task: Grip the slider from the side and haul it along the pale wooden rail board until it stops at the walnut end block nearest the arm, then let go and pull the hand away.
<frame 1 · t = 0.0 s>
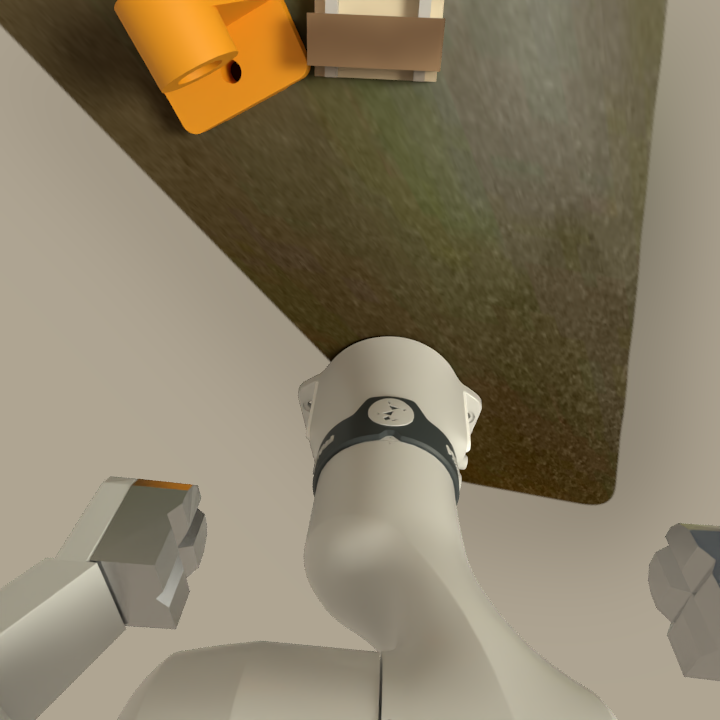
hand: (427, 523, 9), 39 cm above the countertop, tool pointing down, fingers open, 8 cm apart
bracket: (234, 56, 40), on the countertop
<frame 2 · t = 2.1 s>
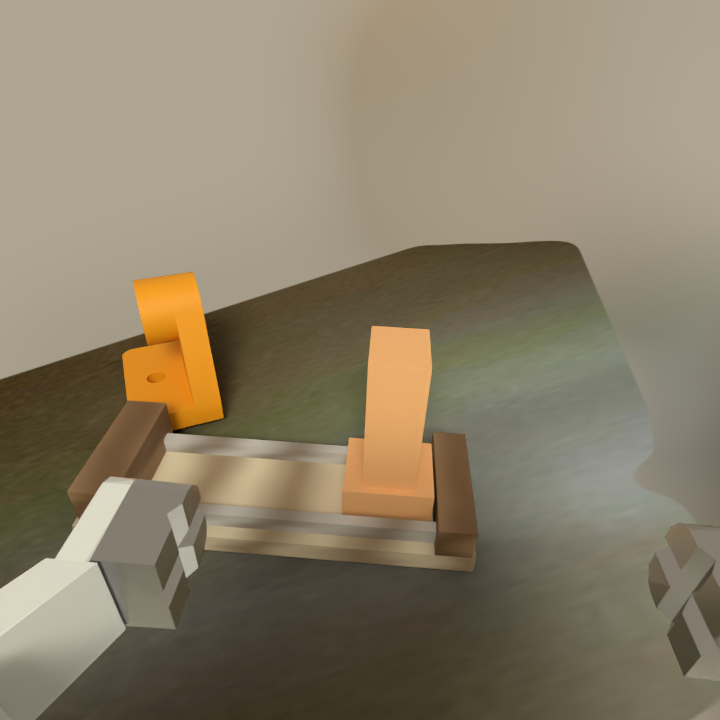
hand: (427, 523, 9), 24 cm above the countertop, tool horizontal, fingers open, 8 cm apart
bracket: (174, 399, 49), on the countertop
slider: (392, 428, 34), point 8 cm above the countertop, slide at 0.0 cm
rail board: (284, 502, 39), on the countertop
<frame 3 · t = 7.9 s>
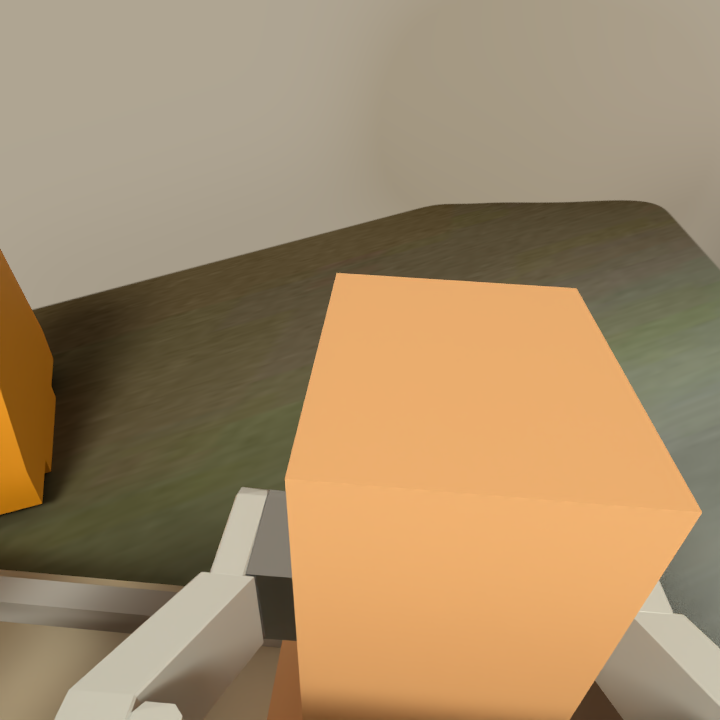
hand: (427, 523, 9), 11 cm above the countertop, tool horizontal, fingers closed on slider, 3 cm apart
slider: (415, 641, 10), point 8 cm above the countertop, slide at 0.0 cm, touching gripper
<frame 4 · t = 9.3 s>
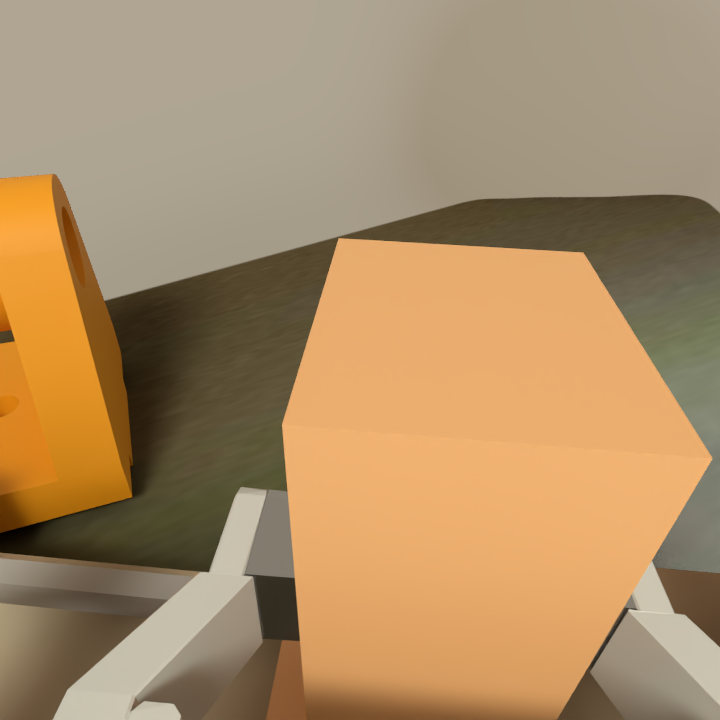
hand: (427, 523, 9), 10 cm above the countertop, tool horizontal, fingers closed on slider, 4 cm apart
bracket: (48, 448, 24), on the countertop
slider: (418, 617, 10), point 8 cm above the countertop, slide at 3.5 cm, touching gripper
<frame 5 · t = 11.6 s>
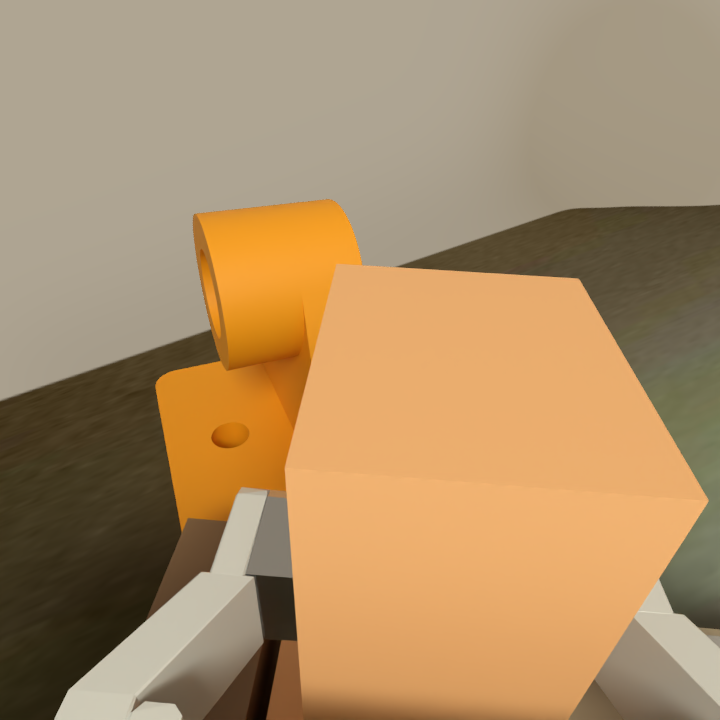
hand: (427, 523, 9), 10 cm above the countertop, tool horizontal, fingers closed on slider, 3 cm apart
bracket: (261, 475, 24), on the countertop
slider: (415, 635, 10), point 8 cm above the countertop, slide at 13.9 cm, touching gripper
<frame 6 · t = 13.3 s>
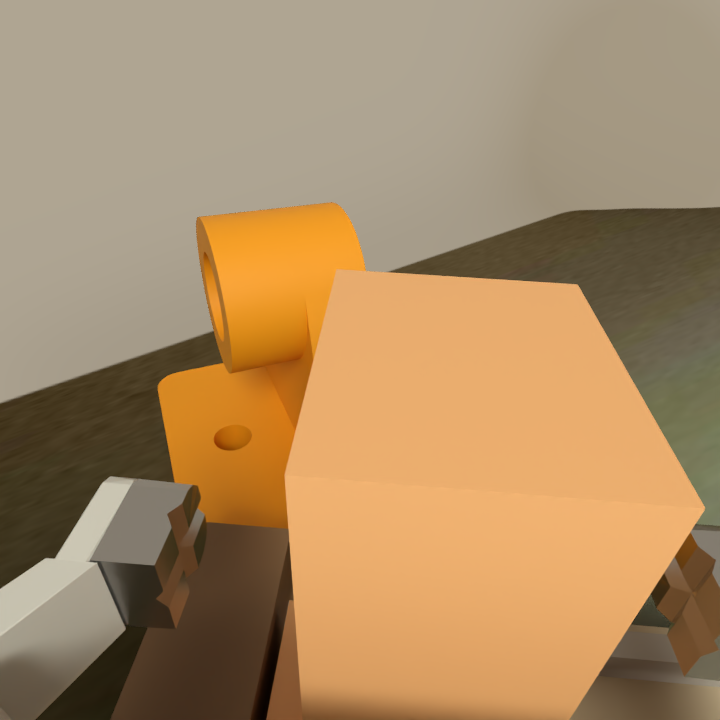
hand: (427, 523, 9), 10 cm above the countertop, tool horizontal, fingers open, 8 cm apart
bracket: (263, 477, 24), on the countertop
slider: (415, 639, 10), point 8 cm above the countertop, slide at 14.0 cm
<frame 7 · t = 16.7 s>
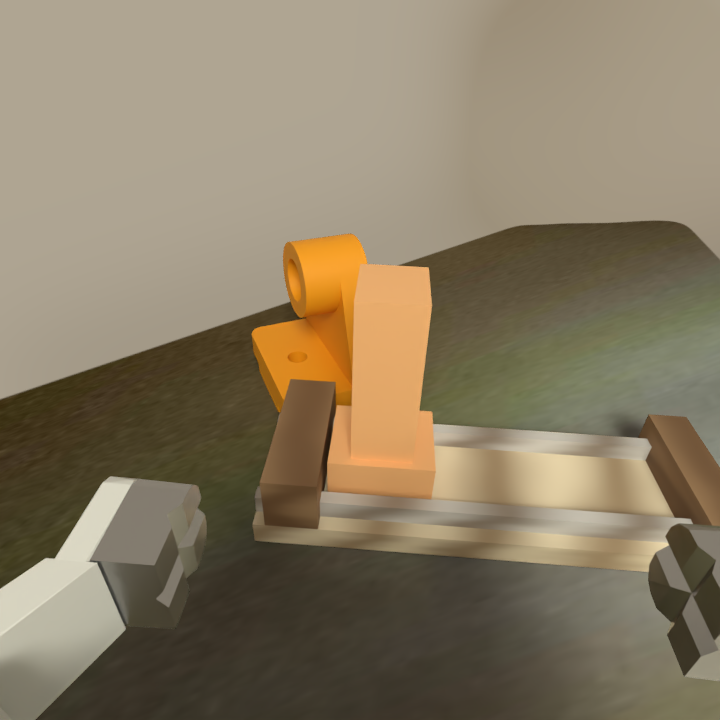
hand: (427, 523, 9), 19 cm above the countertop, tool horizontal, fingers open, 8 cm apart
bracket: (311, 383, 43), on the countertop
slider: (386, 389, 29), point 8 cm above the countertop, slide at 14.0 cm
rail board: (480, 497, 33), on the countertop
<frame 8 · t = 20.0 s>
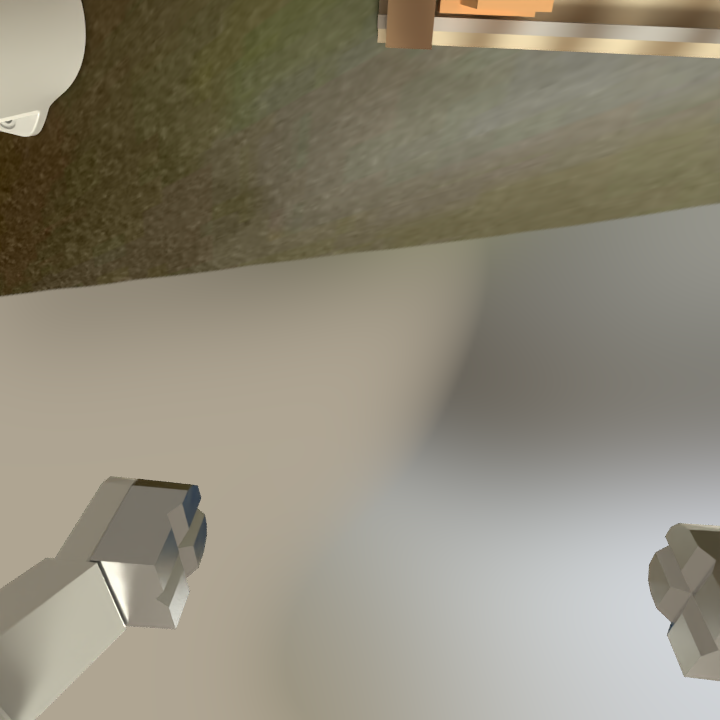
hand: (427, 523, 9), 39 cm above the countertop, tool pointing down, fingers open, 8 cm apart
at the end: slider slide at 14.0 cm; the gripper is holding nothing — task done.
